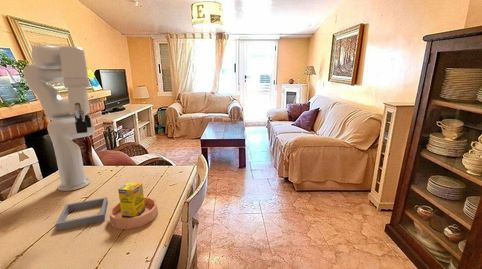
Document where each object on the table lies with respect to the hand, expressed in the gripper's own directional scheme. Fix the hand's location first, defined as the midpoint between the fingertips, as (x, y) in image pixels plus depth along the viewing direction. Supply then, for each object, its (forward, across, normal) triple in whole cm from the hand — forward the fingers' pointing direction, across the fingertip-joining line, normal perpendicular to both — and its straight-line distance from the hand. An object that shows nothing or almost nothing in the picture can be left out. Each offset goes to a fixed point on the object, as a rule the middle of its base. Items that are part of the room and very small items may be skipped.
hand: (84, 130), depth 92 cm
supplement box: (+30, +16, +14) cm, 36 cm away
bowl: (+30, +16, +14) cm, 37 cm away
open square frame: (+30, +8, -3) cm, 31 cm away
